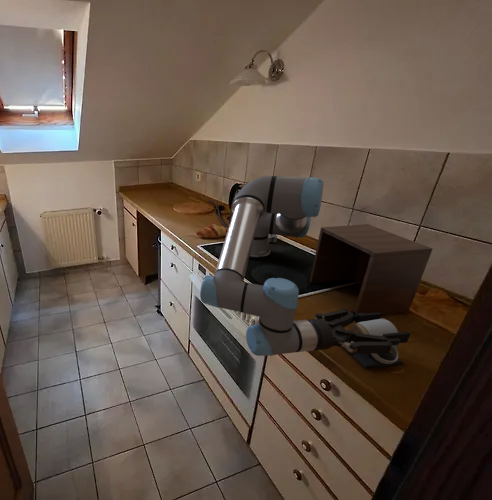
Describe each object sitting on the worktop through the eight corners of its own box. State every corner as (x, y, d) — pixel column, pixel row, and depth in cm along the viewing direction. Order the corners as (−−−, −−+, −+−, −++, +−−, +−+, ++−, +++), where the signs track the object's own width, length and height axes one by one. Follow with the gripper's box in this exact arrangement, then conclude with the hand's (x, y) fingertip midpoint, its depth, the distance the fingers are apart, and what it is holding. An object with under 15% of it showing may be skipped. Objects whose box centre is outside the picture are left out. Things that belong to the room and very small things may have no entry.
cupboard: (309, 281, 115) (320, 227, 106) (352, 278, 117) (367, 224, 108) (355, 317, 93) (375, 253, 85) (408, 312, 95) (432, 248, 86)
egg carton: (255, 236, 162) (256, 229, 160) (269, 235, 162) (270, 228, 160) (263, 243, 152) (264, 236, 150) (278, 242, 152) (279, 235, 151)
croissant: (229, 238, 170) (228, 224, 170) (238, 235, 160) (236, 221, 160) (194, 241, 166) (192, 227, 167) (200, 238, 156) (199, 223, 157)
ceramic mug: (344, 338, 82) (351, 315, 79) (371, 335, 83) (380, 313, 80) (375, 367, 72) (384, 342, 69) (406, 364, 73) (417, 339, 70)
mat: (336, 341, 84) (337, 339, 83) (369, 338, 85) (370, 335, 84) (365, 368, 75) (366, 365, 74) (401, 363, 75) (402, 361, 75)
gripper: (284, 322, 86) (358, 315, 88) (334, 377, 67) (426, 367, 69) (289, 300, 83) (364, 293, 85) (342, 351, 64) (438, 341, 66)
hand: (392, 326), depth 77 cm, fingers closed on ceramic mug, 7 cm apart
